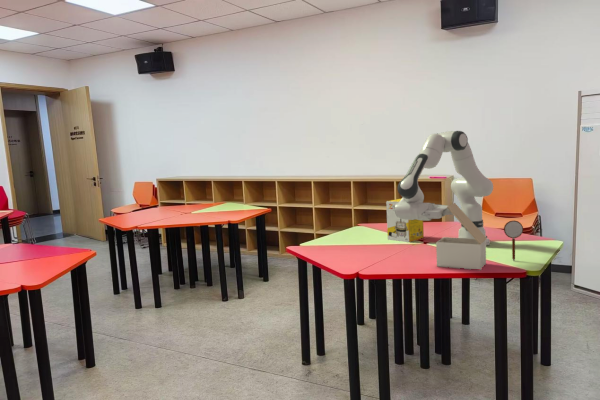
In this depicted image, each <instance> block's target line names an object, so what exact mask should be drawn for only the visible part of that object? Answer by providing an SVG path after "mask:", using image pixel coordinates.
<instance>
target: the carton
mask: <svg viewBox="0 0 600 400" xmlns="http://www.w3.org/2000/svg"><path fill="white" fill-rule="evenodd" d="M435 245H436V247H435V248H436V249H435V250H436V251H435V252H436V267H439V268H448V267H449V268H451V269H460V268H464V269H463V270H471V269H480V270H479V271H482V269H483V268H484V267H485V266H486V265H487V249H486V248H487V245H486V240H485V241H484V242H483V243H482V244H481V245H480V244H479V243H478V242H477V241H476V239H470V238H459V237H450V236H449V237H448V236H443V237H442V238H440V239H438V240H437V241H436V243H435ZM484 265H485V266H484ZM483 266H484V267H483ZM482 267H483V268H482ZM481 268H482V269H481Z"/></svg>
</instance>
